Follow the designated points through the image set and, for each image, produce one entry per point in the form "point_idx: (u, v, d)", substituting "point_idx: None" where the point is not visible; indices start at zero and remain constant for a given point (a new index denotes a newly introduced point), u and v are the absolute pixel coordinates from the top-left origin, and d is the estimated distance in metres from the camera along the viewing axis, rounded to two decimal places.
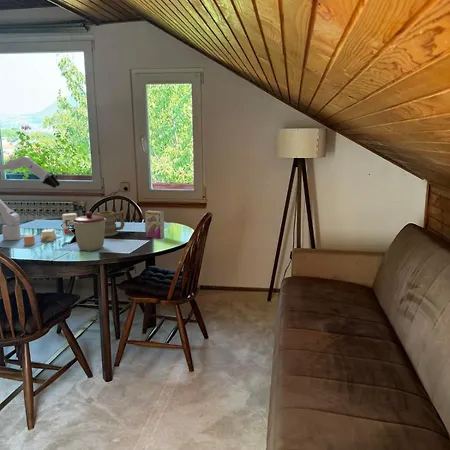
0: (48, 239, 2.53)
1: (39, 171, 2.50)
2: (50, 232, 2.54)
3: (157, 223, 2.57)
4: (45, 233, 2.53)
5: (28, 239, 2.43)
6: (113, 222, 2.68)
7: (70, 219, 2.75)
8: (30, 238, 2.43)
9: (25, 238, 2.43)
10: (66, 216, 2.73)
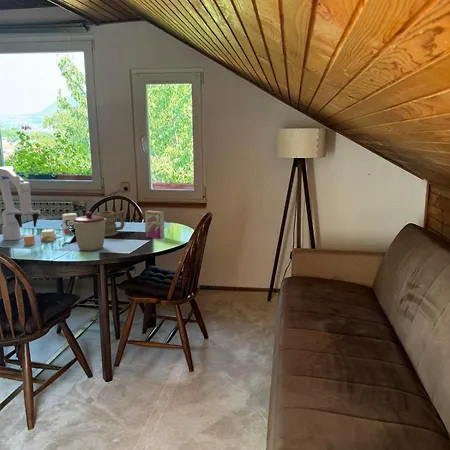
0: (48, 239, 2.53)
1: (20, 205, 2.40)
2: (50, 232, 2.53)
3: (157, 223, 2.57)
4: (45, 233, 2.53)
5: (28, 239, 2.43)
6: (113, 222, 2.68)
7: (70, 219, 2.75)
8: (30, 238, 2.43)
9: (25, 238, 2.43)
10: (66, 216, 2.73)
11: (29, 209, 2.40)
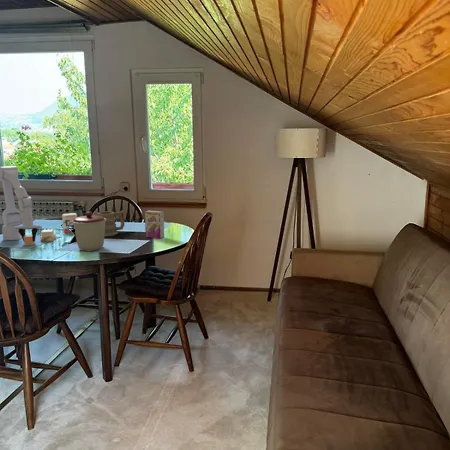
0: (48, 239, 2.53)
1: (22, 220, 2.42)
2: (50, 232, 2.53)
3: (157, 223, 2.57)
4: (45, 233, 2.53)
5: (28, 239, 2.43)
6: (113, 222, 2.68)
7: (70, 219, 2.75)
8: (30, 238, 2.43)
9: (25, 238, 2.43)
10: (66, 216, 2.73)
11: (30, 224, 2.42)
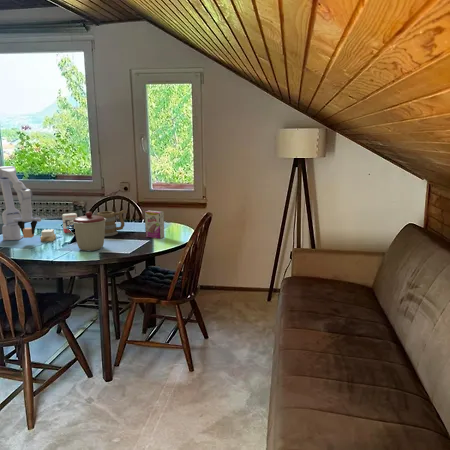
0: (48, 239, 2.53)
1: (21, 212, 2.41)
2: (50, 232, 2.53)
3: (157, 223, 2.57)
4: (45, 233, 2.53)
5: (27, 231, 2.42)
6: (113, 222, 2.68)
7: (70, 219, 2.75)
8: (29, 230, 2.42)
9: (24, 230, 2.42)
10: (66, 216, 2.73)
11: (30, 217, 2.41)
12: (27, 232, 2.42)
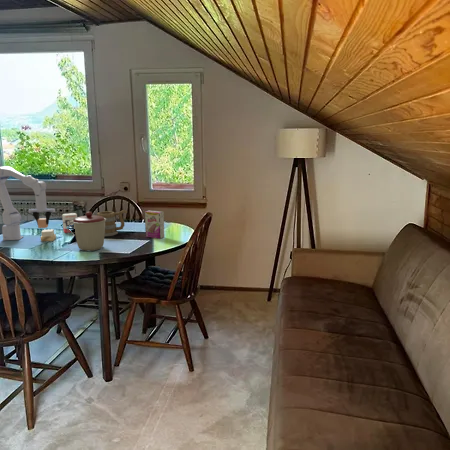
0: (48, 239, 2.53)
1: (36, 203, 2.49)
2: (50, 232, 2.53)
3: (157, 223, 2.57)
4: (45, 233, 2.53)
5: (42, 222, 2.50)
6: (113, 222, 2.68)
7: (70, 219, 2.75)
8: (44, 221, 2.50)
9: (39, 221, 2.49)
10: (66, 216, 2.73)
11: (44, 207, 2.49)
12: (42, 222, 2.50)
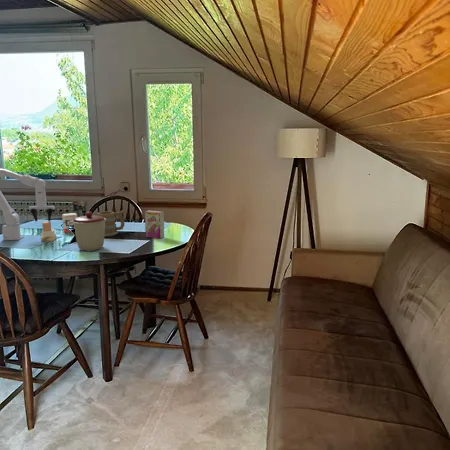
0: (48, 239, 2.53)
1: (36, 200, 2.56)
2: (51, 232, 2.53)
3: (157, 223, 2.57)
4: (46, 233, 2.53)
5: (47, 225, 2.53)
6: (113, 222, 2.68)
7: (70, 219, 2.75)
8: (49, 224, 2.54)
9: (44, 224, 2.53)
10: (66, 216, 2.73)
11: (44, 204, 2.57)
12: (47, 226, 2.53)
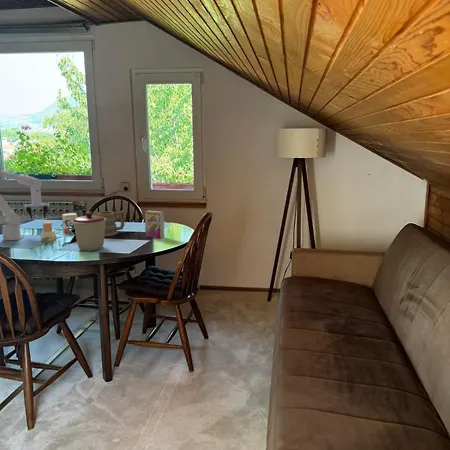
0: (48, 239, 2.53)
1: (31, 199, 2.64)
2: (51, 232, 2.53)
3: (157, 223, 2.57)
4: (46, 233, 2.52)
5: (48, 225, 2.53)
6: (113, 222, 2.68)
7: (70, 219, 2.75)
8: (50, 224, 2.54)
9: (45, 225, 2.52)
10: (66, 216, 2.73)
11: (40, 202, 2.65)
12: (47, 226, 2.53)
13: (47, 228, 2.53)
